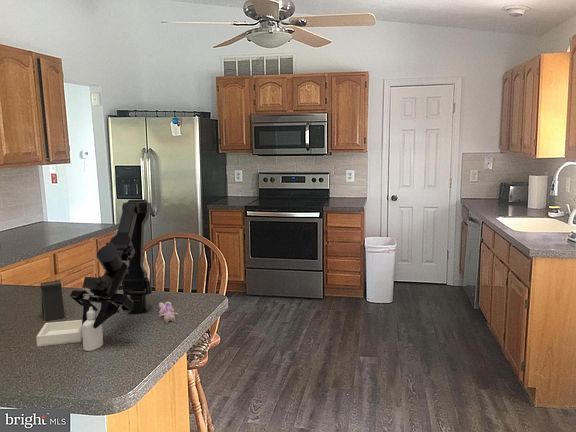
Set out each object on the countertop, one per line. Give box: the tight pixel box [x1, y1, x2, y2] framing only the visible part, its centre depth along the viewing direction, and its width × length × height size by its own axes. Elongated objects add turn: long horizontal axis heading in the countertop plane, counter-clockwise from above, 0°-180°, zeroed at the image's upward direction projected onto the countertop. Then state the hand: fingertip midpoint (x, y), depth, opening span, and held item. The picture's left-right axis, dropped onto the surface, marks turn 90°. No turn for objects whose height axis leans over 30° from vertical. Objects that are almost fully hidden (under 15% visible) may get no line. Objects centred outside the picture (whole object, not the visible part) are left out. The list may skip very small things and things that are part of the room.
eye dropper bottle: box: [82, 307, 104, 352], centre depth 137 cm, size 4×6×12 cm
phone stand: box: [40, 280, 66, 322], centre depth 164 cm, size 9×6×12 cm, turn 34°
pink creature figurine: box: [158, 301, 179, 324], centre depth 163 cm, size 6×6×15 cm
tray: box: [36, 319, 83, 347], centre depth 146 cm, size 12×12×3 cm
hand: (88, 327), depth 136 cm, fingers closed on eye dropper bottle, 3 cm apart
